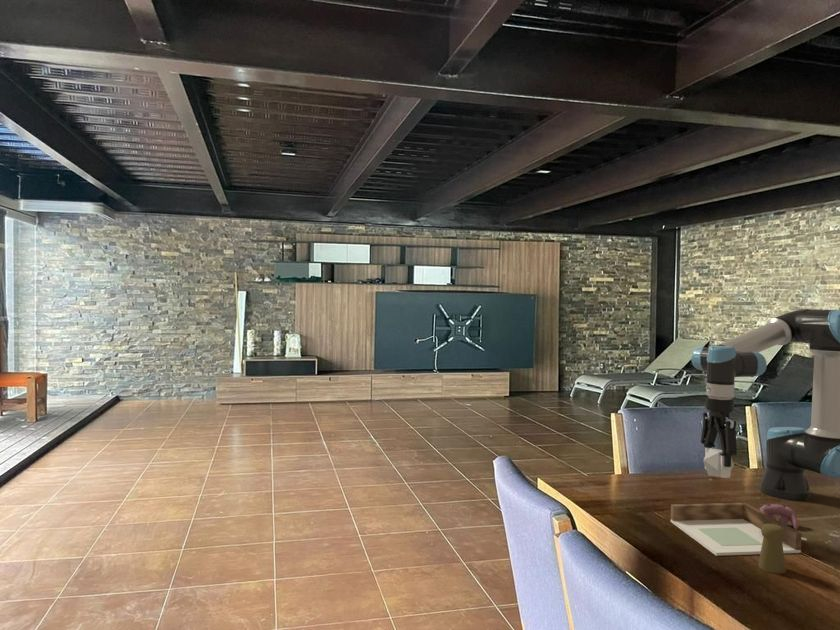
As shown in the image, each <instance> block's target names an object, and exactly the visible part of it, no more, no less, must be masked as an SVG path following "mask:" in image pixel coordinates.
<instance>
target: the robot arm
mask: <svg viewBox="0 0 840 630" xmlns="http://www.w3.org/2000/svg"><path fill="white" fill-rule="evenodd" d="M793 343H795V344H796V343H797V344H798V343H799V344H809V345H808V346H809V347H808V350H809V351H810V352H811V353H812V354H813V357H814V358H813V375H812V377H813V378H812V393H811V397H812V399H811V416H810V417H811V419H810V420H811V421H810V427H809V428H807V429H806V428H804V427H798V426H775V427H770V428H769V429H768V430H767V435H766V452H765V453H766V454H765V455H766V456H765V457H766V465H765V471H764V473H763V475H762V478H761V481H760V483H759V490H760V491H761V492H762V493H764V494H766V495H768V496H771V497H776V498H780V499H786V500H796V501H797V500H798V501H799V500H801V501H802V500H807V499H809V498H811V489H810V485H809V483H808V479H807V476H806V474H805V473H806V471H810V472H813V473H817V474H821V475H823V476H825V477H832V478H840V309H813V308H812V309H811V308H802V309H796V310H793V311H790V312H787V313H784V314H781V315H778V316H775V317H773V318H771V319H769V320H767V322H766V323H765V324H763V325H762V326H759V327H758V328H755V329H752V330H749V331H748V332H745V333H742V334H740V335H738V336H736V337H733V338H731V339H728V340H726V341H724V342H721V343H719V344H717V345H711V346H709V347H705V346H704V347H697V348H695V349H694V350H693V351H692V354H691V358H690V359H691V364H692V366H693V367H694V369H697V370H700V371H703V372H706V386H705V389H706V391H705V392H706V396H707V397H705V409H706V410H707V411H709V412H703V413H702V416H703V421H702V431H701V437H700V443H701V444H703V447H704V451H705V452H704V455H705V456H706V454H707V452H708V451H709V449H710V448H712V449H716V447H717V446H716V445H715V442H716V440H717V436H718V435H719V439H720V446H721V450H722V452H723V454H720V455H721V471H720V477H719V478H722V479H723V478H724V479H728V478H729V479H730V478H731V473H732V470H731V458H732V456H733V457H734V456H737V455H738V452H737V451H738V450H737V433H736V428H737V420H731V417H730V414H731V413H732V412H734V410H735V409H734V407H735V406H734V405H735V401H734V399H733V398H735V380H736V379H735V378H747V377H749V378H754V377H759V376H761V375H763V374H764V373H765V372H766V370H767V365H768V364H767V359H766V358H765V357H764V356H765V355H763V354H762V353H761V352H763V351H765V350H767V349H770V348H772V347H774V346H775V347H776V346H777V345H778V346H785V345H787V344H793ZM705 456H704V457H705ZM704 470H706V467H705V466H704Z"/></svg>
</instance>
